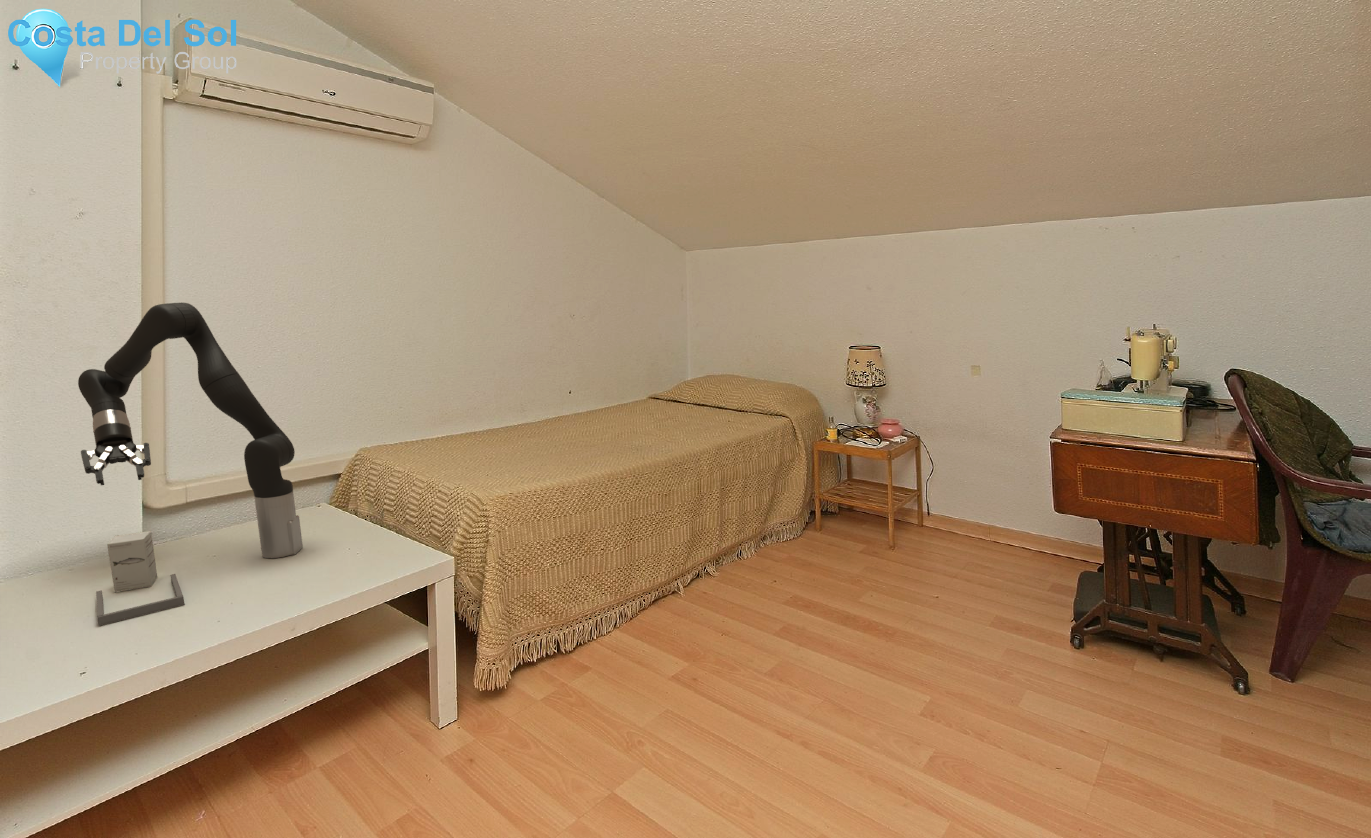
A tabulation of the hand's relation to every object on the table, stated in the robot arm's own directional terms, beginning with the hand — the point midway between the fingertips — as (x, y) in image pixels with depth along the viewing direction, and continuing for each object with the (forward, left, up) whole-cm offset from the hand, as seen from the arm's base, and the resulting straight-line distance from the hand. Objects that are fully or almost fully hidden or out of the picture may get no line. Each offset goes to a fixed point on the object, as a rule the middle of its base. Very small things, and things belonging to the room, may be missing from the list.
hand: (121, 480), depth 169 cm
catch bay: (-13, +23, -25) cm, 36 cm away
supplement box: (-6, +11, -25) cm, 28 cm away
